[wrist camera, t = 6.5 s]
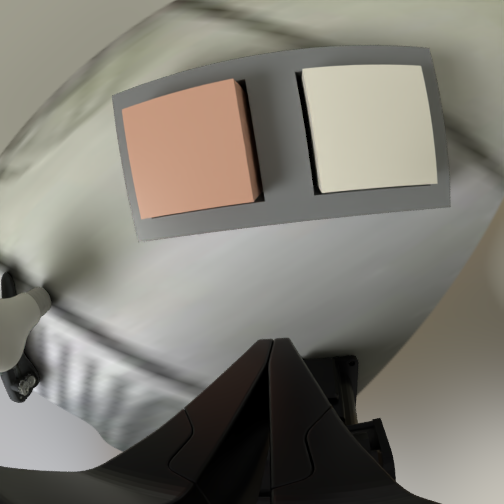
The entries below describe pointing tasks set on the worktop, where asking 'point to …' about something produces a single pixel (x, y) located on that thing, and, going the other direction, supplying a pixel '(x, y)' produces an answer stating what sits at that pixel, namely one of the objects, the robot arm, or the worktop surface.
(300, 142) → the keypad
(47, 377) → the worktop surface
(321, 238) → the worktop surface
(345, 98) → the cream key
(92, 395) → the worktop surface
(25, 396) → the can opener
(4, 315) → the lightbulb
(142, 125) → the terracotta key
